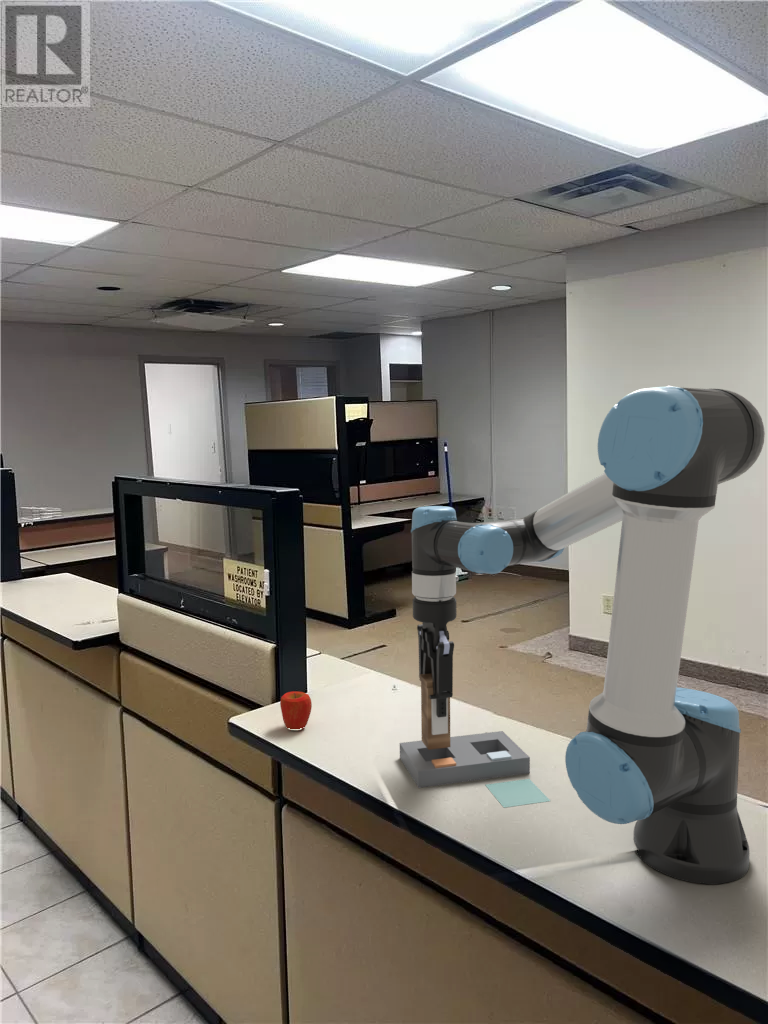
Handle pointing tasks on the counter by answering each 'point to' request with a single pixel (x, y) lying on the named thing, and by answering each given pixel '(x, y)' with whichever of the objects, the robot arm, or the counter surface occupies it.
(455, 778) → the port box
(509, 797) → the plate
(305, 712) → the apple
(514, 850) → the counter surface
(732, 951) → the counter surface
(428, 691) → the plug
